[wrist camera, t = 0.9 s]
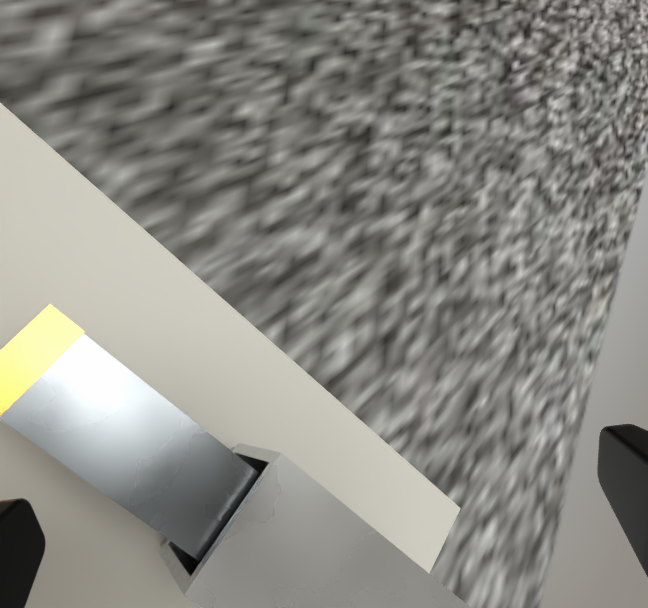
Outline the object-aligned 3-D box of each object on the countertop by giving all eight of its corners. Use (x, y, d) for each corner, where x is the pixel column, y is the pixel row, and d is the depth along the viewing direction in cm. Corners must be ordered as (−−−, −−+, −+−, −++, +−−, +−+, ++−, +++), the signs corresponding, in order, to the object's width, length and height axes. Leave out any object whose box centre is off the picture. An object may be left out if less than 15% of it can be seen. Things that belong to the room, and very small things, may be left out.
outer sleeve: (347, 678, 22) (447, 777, 16) (150, 538, 20) (183, 594, 14) (397, 578, 24) (503, 634, 18) (224, 439, 22) (281, 452, 16)
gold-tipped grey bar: (356, 667, 19) (403, 710, 17) (-23, 393, 16) (-43, 391, 13) (395, 590, 21) (444, 618, 18) (53, 320, 17) (49, 304, 14)
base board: (306, 805, 21) (312, 815, 20) (-530, 293, 14) (-554, 288, 13) (452, 506, 27) (460, 508, 26) (-81, 38, 20) (-85, 28, 19)
